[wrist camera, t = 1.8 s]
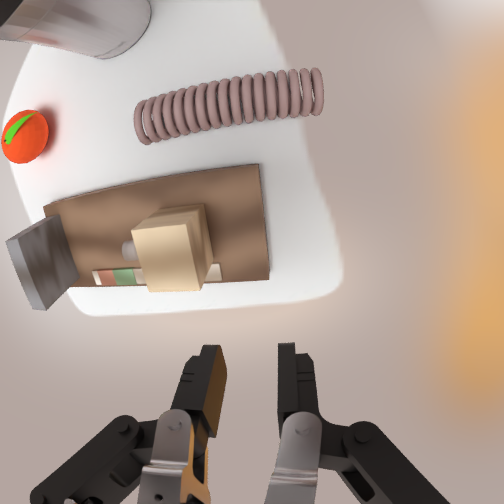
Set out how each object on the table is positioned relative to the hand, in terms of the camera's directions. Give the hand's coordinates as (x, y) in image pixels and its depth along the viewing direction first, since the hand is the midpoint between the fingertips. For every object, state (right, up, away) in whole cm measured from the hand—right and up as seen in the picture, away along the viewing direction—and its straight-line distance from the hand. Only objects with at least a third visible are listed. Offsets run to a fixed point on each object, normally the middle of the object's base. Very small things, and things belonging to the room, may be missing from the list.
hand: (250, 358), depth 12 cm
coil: (-2, +19, +13) cm, 23 cm away
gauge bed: (-13, +7, +19) cm, 24 cm away
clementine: (-27, +21, +14) cm, 37 cm away
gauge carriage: (-8, +5, +17) cm, 19 cm away
